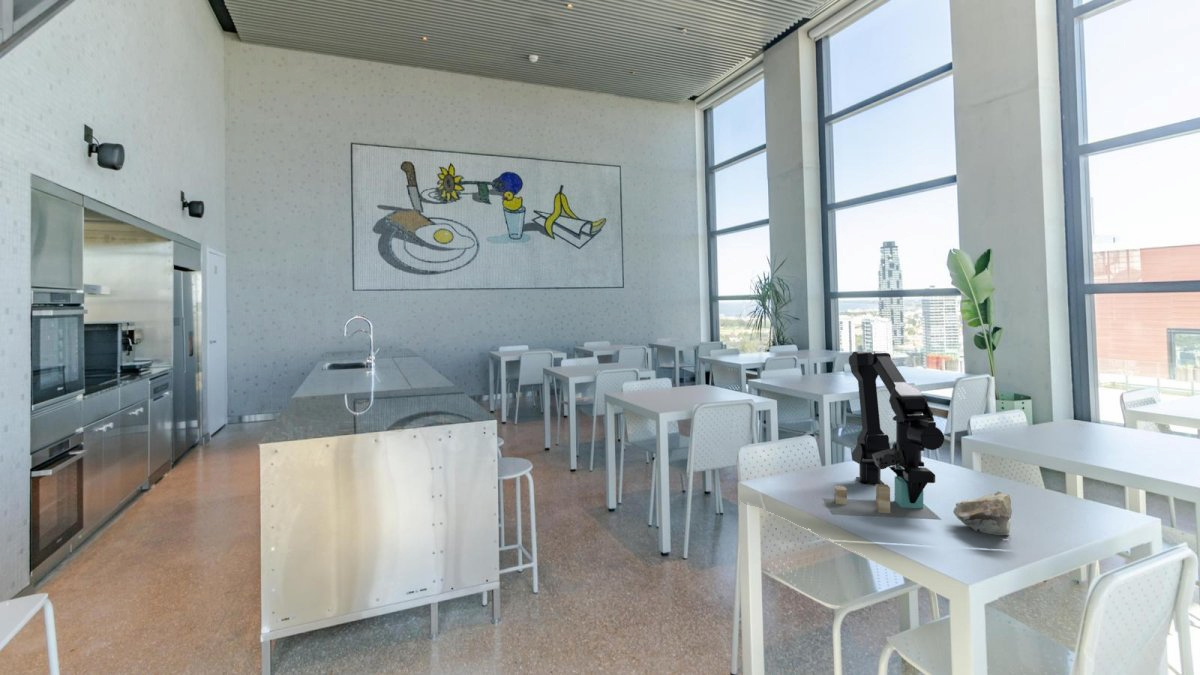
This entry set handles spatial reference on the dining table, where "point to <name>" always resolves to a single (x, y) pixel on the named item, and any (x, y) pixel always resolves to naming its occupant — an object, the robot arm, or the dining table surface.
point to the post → (882, 498)
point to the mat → (870, 510)
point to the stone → (986, 513)
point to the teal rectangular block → (905, 495)
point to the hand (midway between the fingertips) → (908, 499)
